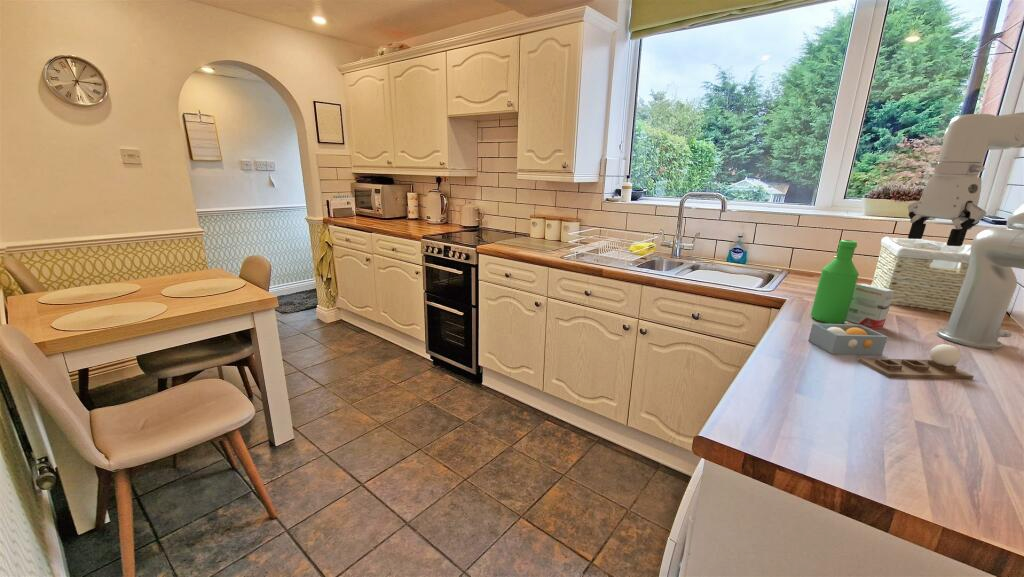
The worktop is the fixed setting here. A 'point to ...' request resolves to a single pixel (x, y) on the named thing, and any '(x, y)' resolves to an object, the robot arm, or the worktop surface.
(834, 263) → the bottle
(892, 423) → the worktop surface
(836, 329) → the cream ball in tray
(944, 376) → the walnut rack
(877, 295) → the ink box
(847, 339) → the pale blue tray
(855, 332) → the orange ball
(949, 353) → the cream ball on rack
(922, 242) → the basket
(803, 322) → the worktop surface
